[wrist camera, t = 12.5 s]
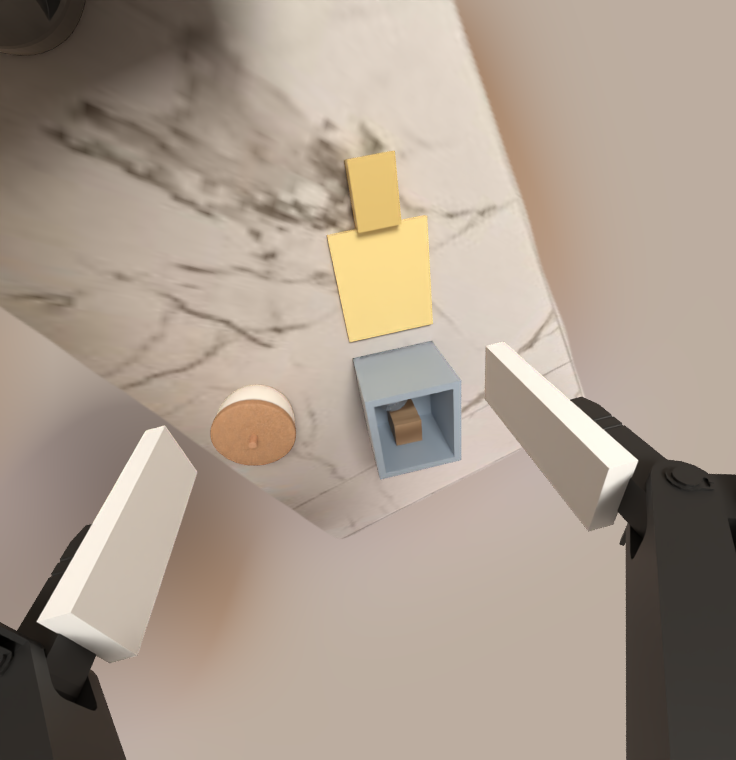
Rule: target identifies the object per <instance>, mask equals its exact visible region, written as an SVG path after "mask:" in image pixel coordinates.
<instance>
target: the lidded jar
mask: <svg viewBox="0 0 736 760" xmlns="http://www.w3.org/2000/svg"><path fill="white" fill-rule="evenodd" d="M210 432H211V440H212V443H213V445H214V447H215V448H216V449H217V451H218V452H219V453H220V454H222V455H223V456H224V457H226V458H227V459H229V460H231V461H233V462H236V463H239V464H244V465H264V464H269V463H272V462H275V461H277V460H279V459H280V458H282V457H284V456H285V455H286V454H287V453H288V452H289V451H290V450H291V448H292V447H293V445H294V442H295V438H296V428H295V418H294V413H293V410H292V407H291V405H290V403H289V401H288V400H287V399H286V397H285V396H284V395H283V394H282V393H280V392H279V391H278V390H276V389H274V388H272V387H269V386H265V385H249V386H245V387H242V388H240V389H238V390H236V391H235V392H233V393H232V394H230V395H229V396H228V397H227V398H226V399H225V401H224V402H223V403H222V405H221V407H220V408H219V410H218V413H217V415H216V417H215V419H214V421H213V423H212V426H211V431H210Z"/></svg>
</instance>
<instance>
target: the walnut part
mask: <svg viewBox="0 0 736 760" xmlns="http://www.w3.org/2000/svg"><path fill="white" fill-rule="evenodd" d="M387 416H388V422H389V425H390V428H391V431H392V433H393V436H394V439H395V442H396V445H397V446H398V445H403V444H407V443H412V442H417V441H421V440H422V423H421V418H420V416H419V414H418V412H417V410H416V408H415V406H414V404H413V401H412V399H407V402H406V404H405V405H404V406H403V407H402V408H400V409H399V410H396V411H387Z"/></svg>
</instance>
